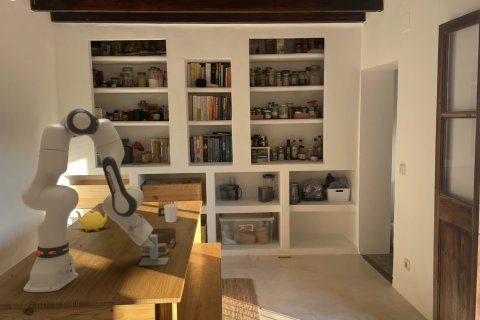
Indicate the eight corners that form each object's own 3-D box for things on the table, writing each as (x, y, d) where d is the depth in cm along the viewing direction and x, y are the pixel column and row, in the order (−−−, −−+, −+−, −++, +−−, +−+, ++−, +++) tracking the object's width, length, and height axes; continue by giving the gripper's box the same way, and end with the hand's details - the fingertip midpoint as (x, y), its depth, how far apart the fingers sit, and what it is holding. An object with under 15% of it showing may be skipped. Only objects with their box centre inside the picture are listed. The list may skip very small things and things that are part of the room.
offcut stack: (166, 255, 206) (165, 246, 205) (140, 256, 206) (140, 246, 205) (167, 252, 211) (167, 242, 211) (142, 252, 211) (142, 243, 211)
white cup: (178, 219, 275) (177, 203, 274) (176, 222, 267) (176, 206, 266) (165, 219, 274) (165, 204, 273) (163, 222, 267) (163, 206, 266)
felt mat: (166, 265, 193) (166, 263, 193) (139, 265, 193) (138, 264, 193) (168, 258, 201) (168, 257, 201) (142, 259, 201) (142, 258, 201)
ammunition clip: (158, 216, 285) (157, 198, 283) (158, 215, 287) (158, 197, 285) (174, 215, 285) (174, 197, 283) (175, 215, 286) (174, 197, 285)
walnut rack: (173, 248, 217) (172, 232, 216) (147, 248, 216) (146, 233, 216) (176, 242, 226) (175, 227, 225) (150, 243, 226) (150, 227, 225)
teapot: (114, 225, 263) (113, 206, 262) (107, 232, 248) (106, 212, 247) (81, 226, 263) (80, 207, 261) (72, 232, 248) (70, 213, 246)
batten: (156, 258, 195) (155, 237, 194) (150, 258, 195) (149, 237, 194) (158, 255, 199) (157, 234, 198) (151, 255, 199) (150, 234, 198)
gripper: (131, 225, 185) (155, 247, 186) (141, 213, 205) (163, 233, 206) (121, 235, 185) (145, 257, 186) (132, 223, 205) (154, 242, 207)
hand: (154, 244), depth 196 cm, fingers closed on batten, 4 cm apart
